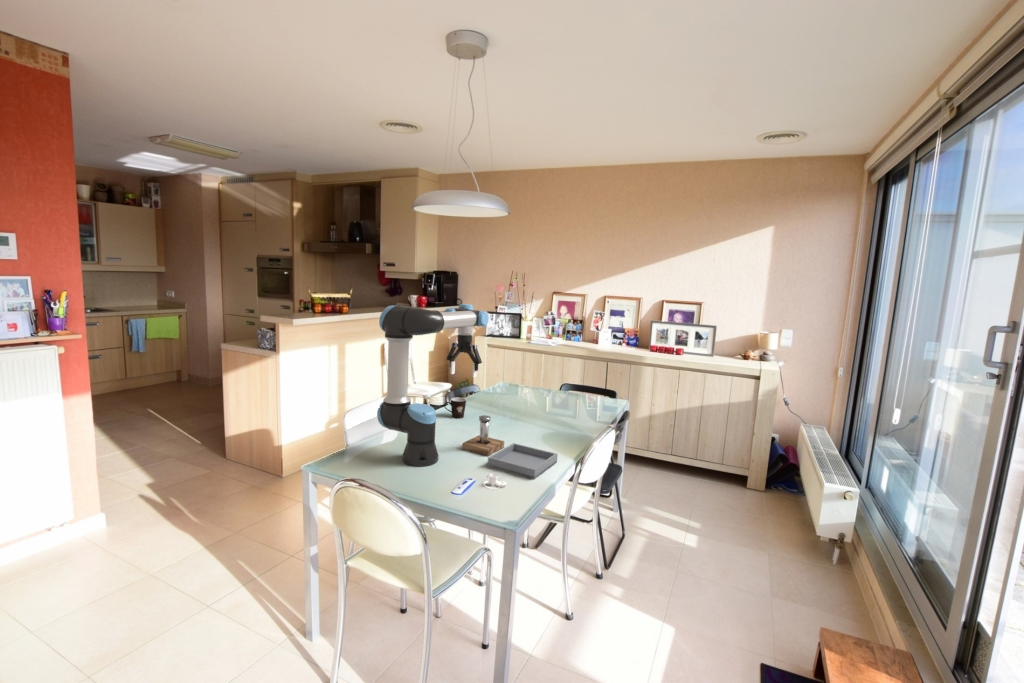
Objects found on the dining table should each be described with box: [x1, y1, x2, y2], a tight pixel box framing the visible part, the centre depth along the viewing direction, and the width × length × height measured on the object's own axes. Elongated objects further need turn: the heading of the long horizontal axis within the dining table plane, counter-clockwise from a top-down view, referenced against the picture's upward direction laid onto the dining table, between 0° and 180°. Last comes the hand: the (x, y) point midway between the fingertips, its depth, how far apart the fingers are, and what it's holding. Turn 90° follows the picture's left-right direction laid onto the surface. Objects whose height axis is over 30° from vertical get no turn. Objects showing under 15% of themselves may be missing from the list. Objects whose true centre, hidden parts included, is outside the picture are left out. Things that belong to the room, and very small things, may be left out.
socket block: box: [461, 434, 505, 457], centre depth 232 cm, size 14×14×3 cm
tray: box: [487, 442, 558, 480], centre depth 215 cm, size 22×22×4 cm
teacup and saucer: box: [482, 473, 507, 490], centre depth 193 cm, size 9×8×4 cm
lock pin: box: [478, 415, 492, 445], centre depth 231 cm, size 5×5×15 cm
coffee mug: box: [443, 396, 467, 420], centre depth 278 cm, size 12×9×10 cm
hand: (463, 375), depth 258 cm, fingers open, 13 cm apart
